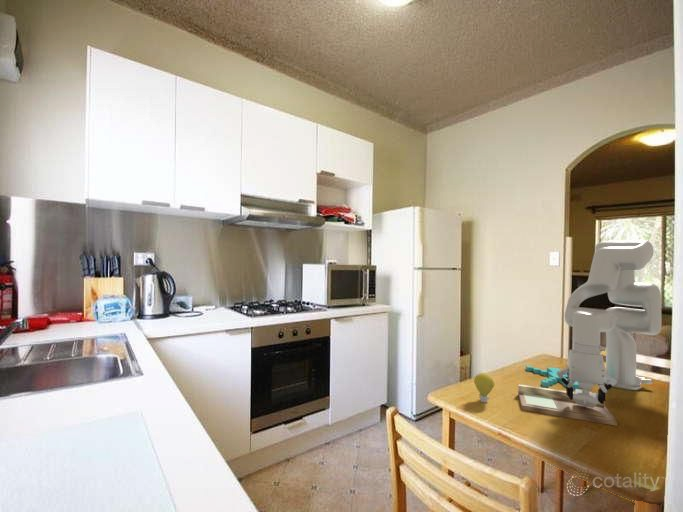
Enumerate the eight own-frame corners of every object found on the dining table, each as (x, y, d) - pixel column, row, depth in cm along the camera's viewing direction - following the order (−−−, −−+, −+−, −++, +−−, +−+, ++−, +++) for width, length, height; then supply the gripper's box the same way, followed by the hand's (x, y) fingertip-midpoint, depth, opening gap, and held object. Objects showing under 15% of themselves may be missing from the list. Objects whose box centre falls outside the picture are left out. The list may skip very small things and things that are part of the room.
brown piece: (602, 407, 114) (602, 396, 114) (617, 425, 102) (617, 412, 102) (518, 394, 124) (518, 384, 124) (522, 409, 112) (522, 398, 112)
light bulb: (486, 406, 114) (486, 378, 114) (469, 399, 120) (470, 372, 120) (498, 402, 118) (498, 374, 118) (481, 395, 123) (481, 368, 123)
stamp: (574, 397, 116) (574, 373, 116) (598, 403, 112) (598, 378, 112) (572, 406, 109) (572, 381, 109) (597, 413, 105) (597, 386, 105)
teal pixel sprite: (543, 387, 132) (599, 392, 128) (543, 382, 132) (599, 386, 128) (525, 370, 152) (574, 374, 148) (525, 365, 152) (574, 369, 148)
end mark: (551, 397, 118) (551, 397, 118) (557, 409, 110) (557, 408, 110) (523, 393, 122) (523, 392, 122) (526, 404, 113) (526, 403, 113)
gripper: (613, 348, 110) (613, 400, 111) (553, 342, 117) (552, 391, 117) (622, 354, 104) (622, 410, 104) (558, 348, 110) (557, 400, 110)
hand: (585, 400), depth 111 cm, fingers closed on stamp, 7 cm apart
